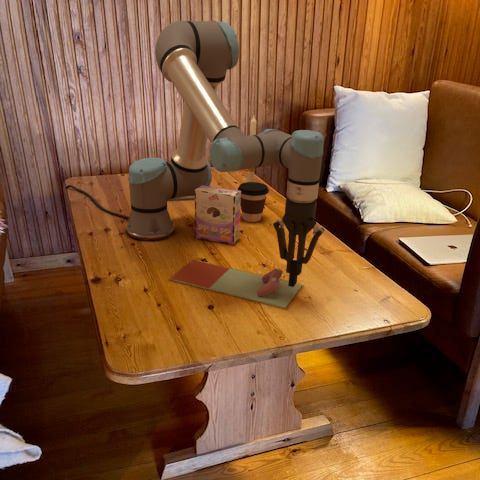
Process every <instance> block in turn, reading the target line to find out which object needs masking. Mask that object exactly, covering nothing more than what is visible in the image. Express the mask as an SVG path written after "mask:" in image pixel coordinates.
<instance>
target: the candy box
mask: <svg viewBox="0 0 480 480" xmlns="http://www.w3.org/2000/svg"><path fill="white" fill-rule="evenodd" d="M240 228H241V191H238V189H237V190H236V189H230V188H223V187H217V186H211V185H210V186H204V185H201V186H200V187H198V188H197V189H195V199H194V238H195V239H199V240H205V241H210V242H215V243H221V244H227V245H231V246H234V245H235V244H236V243H237V242H238V241H239V240H240V231H241V229H240Z"/></svg>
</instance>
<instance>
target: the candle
mask: <svg viewBox="0 0 480 480" xmlns="http://www.w3.org/2000/svg"><path fill="white" fill-rule="evenodd" d="M251 118H252V119H251V120H250V127H249V135H257V120H256V115H255V114H253V116H252V117H251ZM246 182H255V168H250V169H247V175H246Z"/></svg>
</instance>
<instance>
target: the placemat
mask: <svg viewBox="0 0 480 480" xmlns="http://www.w3.org/2000/svg"><path fill="white" fill-rule="evenodd" d="M263 276H264V275H261V274H260V275H259V274H256V273H252V272H247V271H243V270H238V269H234V268H230V267H225V266H222V265H217V264H212V263H208V262H204V261H200V260H196V259H194V260H192V261H191V262H190V263H187V265H186V266H184V267H183V268H182V269H181V270H180V271H178V272H176V274H174V275H173V276H172V277H171V278H170V279H169V280H170V281H172V282H175V283H180V284H184V285H188V286H192V287H197V288H199V289H204V290H207V291H212V292H215V293H220V294H225V295H228V296H232V297H237V298H240V299H244V300H248V301H251V302H256V303H261V304H264V305H269V306H273V307H276V308H281V309H284V310H285V309H286V308H287V307H288V306H289V305H290V303H291V302H292V300H293V299H294V298H295V296H296V295H297V293H298V292H299V291H300V289H301V288H302V287H303V284H300V283H296V284H295V286H294V287H291V286H288V283H289V281H286V280H281V279H279V281H280V282H279V286H280V288H279V289H278V290H277V289H275V291H274V292H272V293H270V294H268V295H266V296H258V295H257V290H258V289H259V288H261V287H263V286H264V285H266V284H267V283H268V282H263V281H262V277H263Z"/></svg>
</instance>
